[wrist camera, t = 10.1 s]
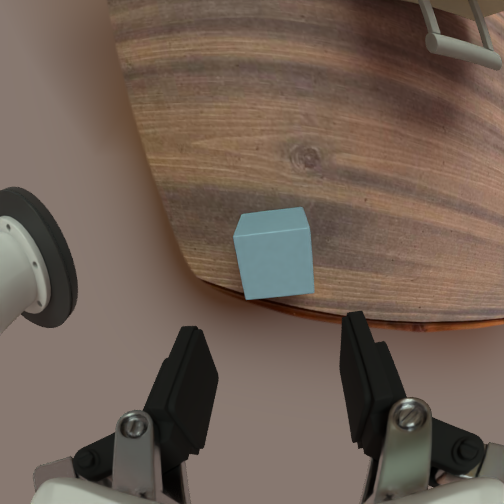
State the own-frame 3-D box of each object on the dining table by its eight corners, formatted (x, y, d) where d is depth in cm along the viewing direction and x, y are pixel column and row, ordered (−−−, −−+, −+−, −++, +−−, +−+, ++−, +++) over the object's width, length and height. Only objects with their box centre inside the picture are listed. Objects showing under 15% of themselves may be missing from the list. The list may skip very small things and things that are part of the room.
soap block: (251, 268, 22) (245, 300, 18) (241, 214, 20) (232, 236, 16) (307, 261, 21) (314, 293, 17) (302, 206, 19) (310, 227, 15)
